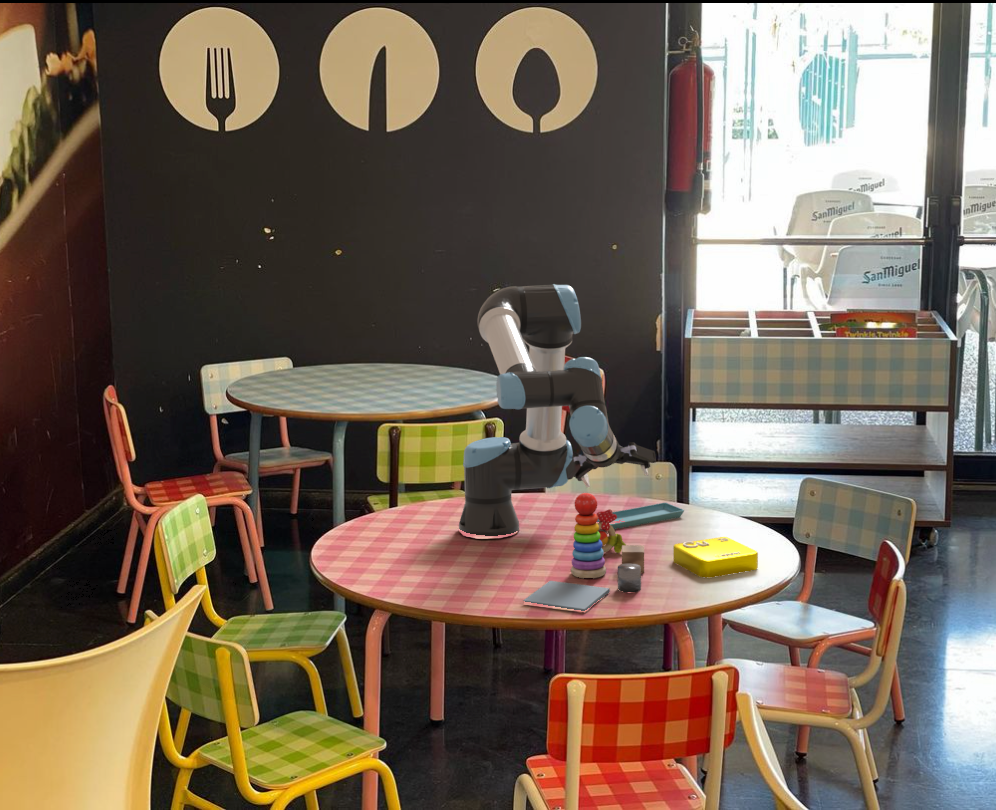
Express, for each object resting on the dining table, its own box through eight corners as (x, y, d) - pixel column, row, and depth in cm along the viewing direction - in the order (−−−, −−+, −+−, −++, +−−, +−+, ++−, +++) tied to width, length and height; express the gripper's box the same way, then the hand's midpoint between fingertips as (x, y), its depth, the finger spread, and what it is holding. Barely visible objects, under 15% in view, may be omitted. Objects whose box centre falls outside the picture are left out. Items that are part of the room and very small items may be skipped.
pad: (523, 605, 281) (523, 600, 281) (550, 584, 293) (550, 580, 293) (584, 613, 275) (584, 609, 275) (609, 592, 287) (609, 588, 287)
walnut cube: (621, 573, 300) (621, 551, 299) (622, 566, 305) (622, 545, 304) (644, 573, 300) (644, 552, 299) (644, 566, 305) (644, 545, 304)
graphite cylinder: (614, 591, 288) (614, 569, 287) (622, 584, 293) (622, 562, 292) (636, 594, 286) (636, 571, 285) (644, 587, 290) (644, 565, 290)
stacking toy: (606, 568, 303) (605, 489, 300) (605, 580, 296) (605, 498, 292) (571, 568, 304) (570, 489, 301) (570, 579, 296) (568, 498, 293)
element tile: (703, 580, 295) (703, 559, 294) (670, 562, 308) (669, 542, 308) (761, 571, 300) (761, 550, 299) (726, 553, 314) (726, 533, 313)
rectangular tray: (597, 535, 331) (597, 525, 331) (579, 526, 339) (579, 516, 339) (685, 519, 343) (685, 510, 342) (665, 511, 351) (665, 502, 350)
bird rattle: (607, 567, 311) (635, 545, 315) (591, 528, 307) (619, 507, 311) (591, 560, 317) (618, 539, 320) (575, 522, 312) (603, 501, 316)
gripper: (545, 473, 286) (565, 501, 305) (660, 450, 281) (673, 480, 300) (541, 441, 288) (561, 470, 308) (654, 418, 284) (667, 449, 303)
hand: (616, 475), depth 304 cm, fingers open, 13 cm apart
